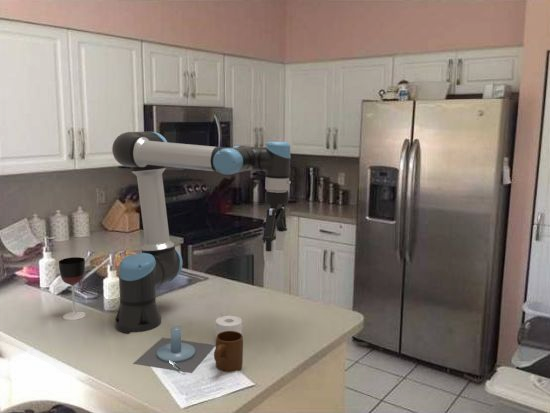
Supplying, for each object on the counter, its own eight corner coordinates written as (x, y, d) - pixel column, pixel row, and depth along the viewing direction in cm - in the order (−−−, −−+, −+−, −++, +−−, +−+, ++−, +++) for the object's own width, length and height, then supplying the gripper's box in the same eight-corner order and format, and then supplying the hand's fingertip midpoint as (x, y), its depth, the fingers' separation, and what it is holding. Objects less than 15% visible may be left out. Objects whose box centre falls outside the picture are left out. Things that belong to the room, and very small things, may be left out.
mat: (132, 365, 141) (132, 363, 141) (162, 339, 158) (162, 337, 158) (191, 374, 137) (191, 372, 137) (215, 346, 154) (215, 345, 154)
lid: (150, 359, 144) (149, 333, 142) (167, 343, 154) (167, 319, 153) (185, 365, 141) (185, 338, 140) (200, 348, 151) (200, 323, 150)
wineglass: (56, 318, 173) (53, 262, 169) (74, 309, 181) (72, 256, 177) (73, 322, 170) (71, 265, 166) (92, 313, 178) (90, 259, 174)
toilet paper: (225, 330, 166) (225, 311, 165) (246, 342, 158) (247, 321, 157) (204, 337, 161) (205, 317, 159) (226, 349, 153) (226, 328, 151)
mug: (228, 383, 133) (228, 350, 131) (203, 377, 135) (203, 345, 134) (246, 364, 144) (247, 333, 142) (223, 358, 147) (223, 328, 145)
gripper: (278, 197, 146) (275, 267, 149) (296, 186, 170) (294, 247, 173) (254, 195, 148) (251, 264, 151) (275, 185, 171) (273, 245, 175)
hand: (274, 255), depth 162 cm, fingers open, 13 cm apart
